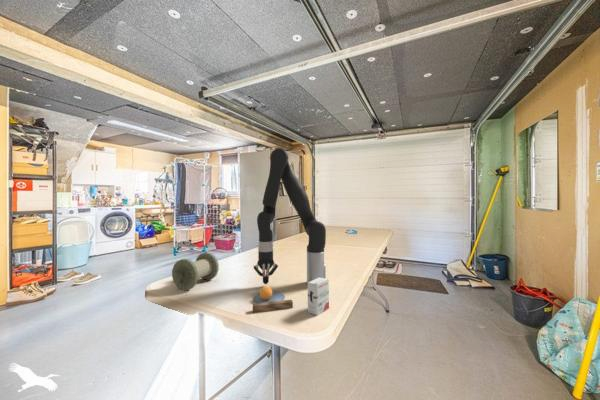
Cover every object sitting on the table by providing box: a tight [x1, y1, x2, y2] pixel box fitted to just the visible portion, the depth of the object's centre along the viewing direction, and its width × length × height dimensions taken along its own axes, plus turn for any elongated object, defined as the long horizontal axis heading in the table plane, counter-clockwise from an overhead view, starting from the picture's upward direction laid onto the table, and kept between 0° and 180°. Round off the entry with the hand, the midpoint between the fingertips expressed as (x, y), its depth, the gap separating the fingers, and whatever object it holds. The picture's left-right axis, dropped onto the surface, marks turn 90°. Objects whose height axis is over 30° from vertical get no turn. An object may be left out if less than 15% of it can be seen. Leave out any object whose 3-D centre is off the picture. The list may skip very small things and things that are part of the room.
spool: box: [171, 252, 220, 291], centre depth 117 cm, size 16×15×15 cm
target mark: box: [253, 290, 286, 304], centre depth 100 cm, size 14×14×1 cm
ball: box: [259, 285, 273, 300], centre depth 98 cm, size 6×6×6 cm
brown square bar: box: [252, 299, 294, 314], centre depth 89 cm, size 16×2×2 cm, turn 105°
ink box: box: [307, 277, 330, 316], centre depth 89 cm, size 8×5×12 cm, turn 140°
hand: (265, 283), depth 114 cm, fingers closed
